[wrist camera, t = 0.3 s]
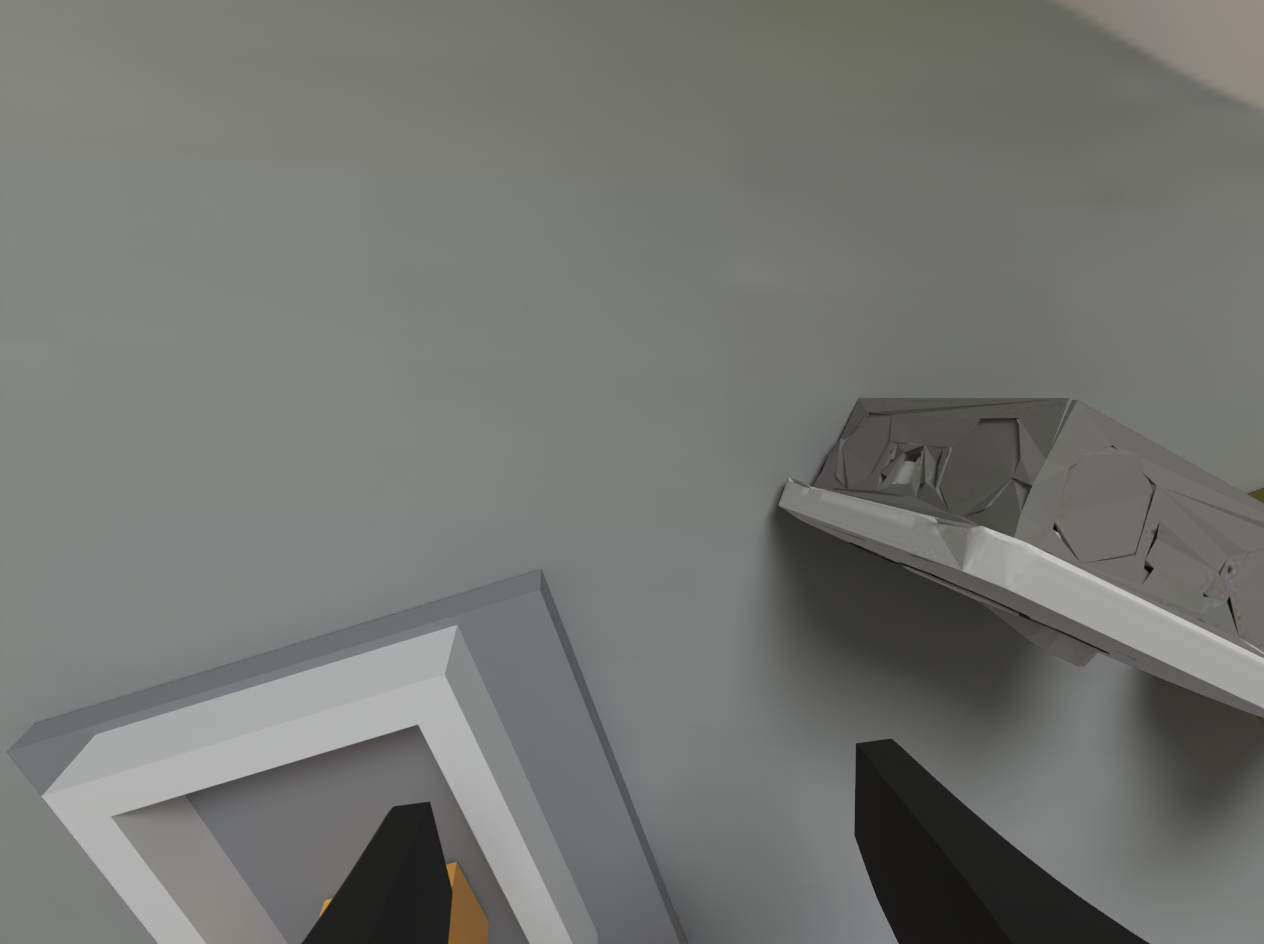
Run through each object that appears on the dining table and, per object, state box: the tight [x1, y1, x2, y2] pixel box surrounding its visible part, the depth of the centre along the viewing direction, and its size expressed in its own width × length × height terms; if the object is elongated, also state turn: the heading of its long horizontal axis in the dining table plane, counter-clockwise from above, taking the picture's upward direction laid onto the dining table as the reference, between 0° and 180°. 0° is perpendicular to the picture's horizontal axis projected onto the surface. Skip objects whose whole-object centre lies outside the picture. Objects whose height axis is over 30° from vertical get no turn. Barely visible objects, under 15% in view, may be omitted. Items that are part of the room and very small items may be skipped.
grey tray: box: [7, 570, 687, 944], centre depth 23 cm, size 18×16×4 cm
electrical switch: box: [778, 398, 1264, 718], centre depth 18 cm, size 9×5×9 cm, turn 63°
